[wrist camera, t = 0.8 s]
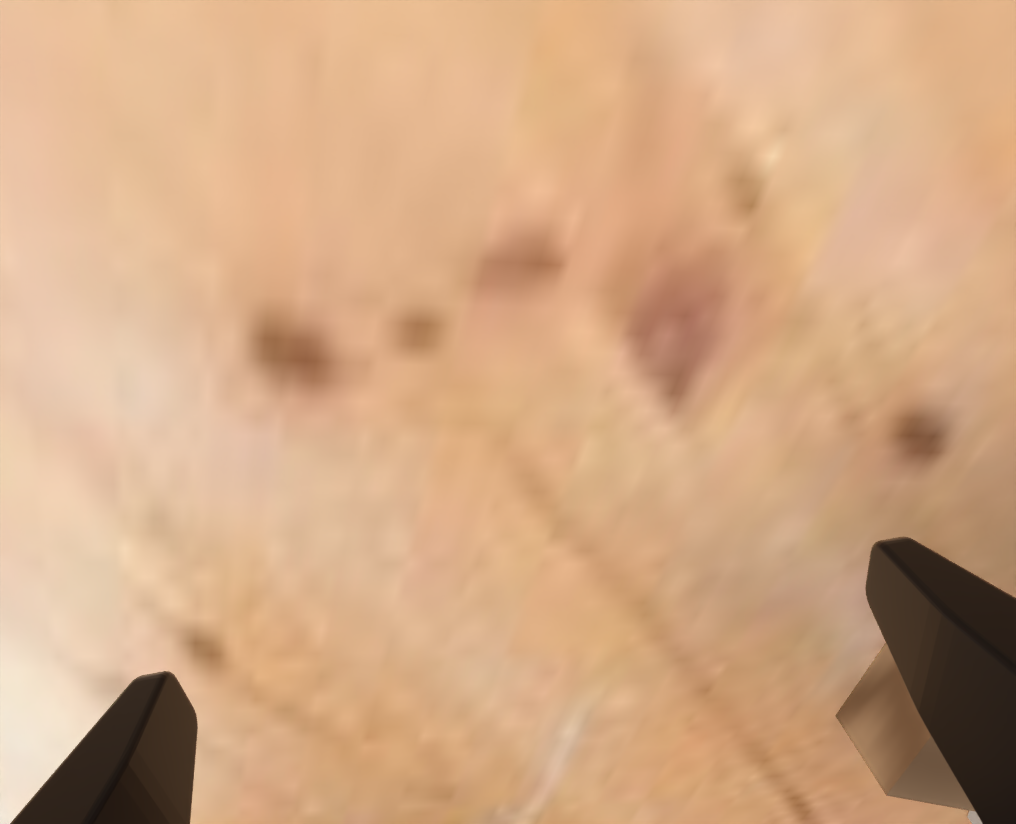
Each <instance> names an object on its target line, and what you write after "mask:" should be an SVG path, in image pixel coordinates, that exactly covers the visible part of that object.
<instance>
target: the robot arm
mask: <svg viewBox="0 0 1016 824" xmlns="http://www.w3.org/2000/svg"><path fill="white" fill-rule="evenodd" d="M866 596H867V600H868V603H869V606H870V608H871V610H872V612H873V615H874V617H875V619H876V621H877V624H878V626H879V628H880V630H881V632H882V635H883V637H884V639H885V641H886V644H887V646H888V648H889V650H890V652H891V655H892V657H893V659H894V661H895V664H896V666H897V668H898V670H899V672H900V675H901V677H902V679H903V681H904V684H905V686H906V688H907V690H908V692H909V695H910V697H911V699H912V701H913V703H914V705H915V707H916V709H917V711H918V713H919V715H920V717H921V719H922V721H923V722H924V724H925V726H926V728H927V730H928V731H929V733H930V735H931V736H932V738H933V740H934V742H935V743H936V745H937V747H938V748H939V750H940V752H941V753H942V755H943V757H944V759H945V760H946V762H947V764H948V765H949V767H950V769H951V771H952V772H953V774H954V776H955V777H956V779H957V781H958V782H959V784H960V786H961V788H962V789H963V791H964V793H965V794H966V796H967V798H968V800H969V801H970V803H971V805H972V806H973V808H974V810H975V811H976V813H977V815H978V817H979V818H980V820H981V822H982V823H983V824H1016V598H1014V597H1013V596H1011V595H1009V594H1007V593H1006V592H1004V591H1002V590H1001V589H999V588H997V587H995V586H994V585H992V584H990V583H988V582H987V581H985V580H983V579H981V578H980V577H978V576H976V575H974V574H973V573H971V572H969V571H967V570H966V569H964V568H962V567H960V566H959V565H957V564H955V563H953V562H952V561H950V560H948V559H946V558H945V557H943V556H941V555H939V554H938V553H936V552H934V551H932V550H931V549H929V548H927V547H925V546H924V545H922V544H920V543H918V542H917V541H915V540H913V539H911V538H908V537H898V538H893V539H887V540H882V541H878V542H876V543H875V544H874V545H873V547H872V550H871V555H870V561H869V567H868V574H867V580H866ZM196 741H197V717H196V713H195V710H194V708H193V706H192V704H191V703H190V701H189V699H188V697H187V696H186V694H185V692H184V690H183V689H182V687H181V685H180V683H179V682H178V680H177V678H176V677H175V675H174V674H172V673H171V672H169V671H164V672H158V673H153V674H147V675H142V676H139V677H137V678H136V679H134V680H133V681H132V682H131V683H130V684H129V685H128V687H127V688H126V689H125V690H124V691H123V692H122V694H121V695H120V696H119V697H118V698H117V699H116V701H115V702H114V703H113V704H112V705H111V707H110V708H109V709H108V710H107V711H106V712H105V714H104V715H103V716H102V717H101V718H100V719H99V721H98V722H97V723H96V724H95V725H94V726H93V728H92V729H91V730H90V731H89V732H88V733H87V735H86V736H85V737H84V738H83V739H82V740H81V742H80V743H79V744H78V745H77V746H76V747H75V749H74V750H73V751H72V752H71V753H70V754H69V756H68V757H67V758H66V759H65V760H64V761H63V763H62V764H61V765H60V766H59V767H58V768H57V770H56V771H55V772H54V773H53V774H52V775H51V777H50V778H49V779H48V780H47V781H46V782H45V784H44V785H43V786H42V787H41V788H40V789H39V791H38V792H37V793H36V794H35V795H34V796H33V798H32V799H31V800H30V801H29V802H28V803H27V805H26V806H25V807H24V808H23V809H22V810H21V812H20V813H19V814H18V815H17V816H16V817H15V819H14V820H13V821H12V822H11V823H10V824H190V817H191V805H192V792H193V779H194V766H195V754H196Z"/></svg>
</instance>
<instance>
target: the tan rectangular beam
mask: <svg viewBox="0 0 1016 824" xmlns="http://www.w3.org/2000/svg"><path fill="white" fill-rule="evenodd" d="M836 717H837V719H838V720H839V722H840V723H841V725H842V727H843V728H844V730H845V731H846V733H847V734H848V736H849V737H850V739H851V741H852V742H853V744H854V745H855V747H856V748H857V750H858V752H859V753H860V755H861V756H862V758H863V759H864V761H865V763H866V764H867V766H868V767H869V769H870V770H871V772H872V774H873V775H874V777H875V778H876V780H877V781H878V783H879V785H880V786H881V788H882V789H883V791H884V792H885V794H886V795H887V796H892V797H898V798H903V799H909V800H914V801H920V802H925V803H931V804H936V805H942V806H947V807H953V808H958V809H964V810H970V811H975V810H974V808H973V806H972V805H971V803H970V801H969V800H968V798H967V796H966V794H965V793H964V791H963V789H962V788H961V786H960V784H959V782H958V781H957V779H956V777H955V776H954V774H953V772H952V771H951V769H950V767H949V765H948V764H947V762H946V760H945V759H944V757H943V755H942V753H941V752H940V750H939V748H938V747H937V745H936V743H935V742H934V740H933V738H932V736H931V735H930V733H929V731H928V730H927V728H926V726H925V724H924V722H923V721H922V719H921V717H920V715H919V713H918V711H917V709H916V707H915V705H914V703H913V701H912V699H911V697H910V695H909V692H908V690H907V688H906V686H905V684H904V681H903V679H902V677H901V675H900V672H899V670H898V668H897V666H896V664H895V661H894V659H893V657H892V655H891V652H890V650H889V648H888V646H887V644H886V643H885V645H884V646H883V648H882V649H881V651H880V652H879V654H878V655H877V656H876V658H875V659H874V661H873V662H872V664H871V665H870V667H869V668H868V670H867V671H866V672H865V674H864V675H863V677H862V678H861V680H860V681H859V683H858V684H857V685H856V687H855V688H854V690H853V691H852V693H851V694H850V696H849V697H848V698H847V700H846V701H845V703H844V704H843V706H842V707H841V709H840V710H839V712H838V713H837V714H836ZM975 812H976V811H975Z"/></svg>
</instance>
